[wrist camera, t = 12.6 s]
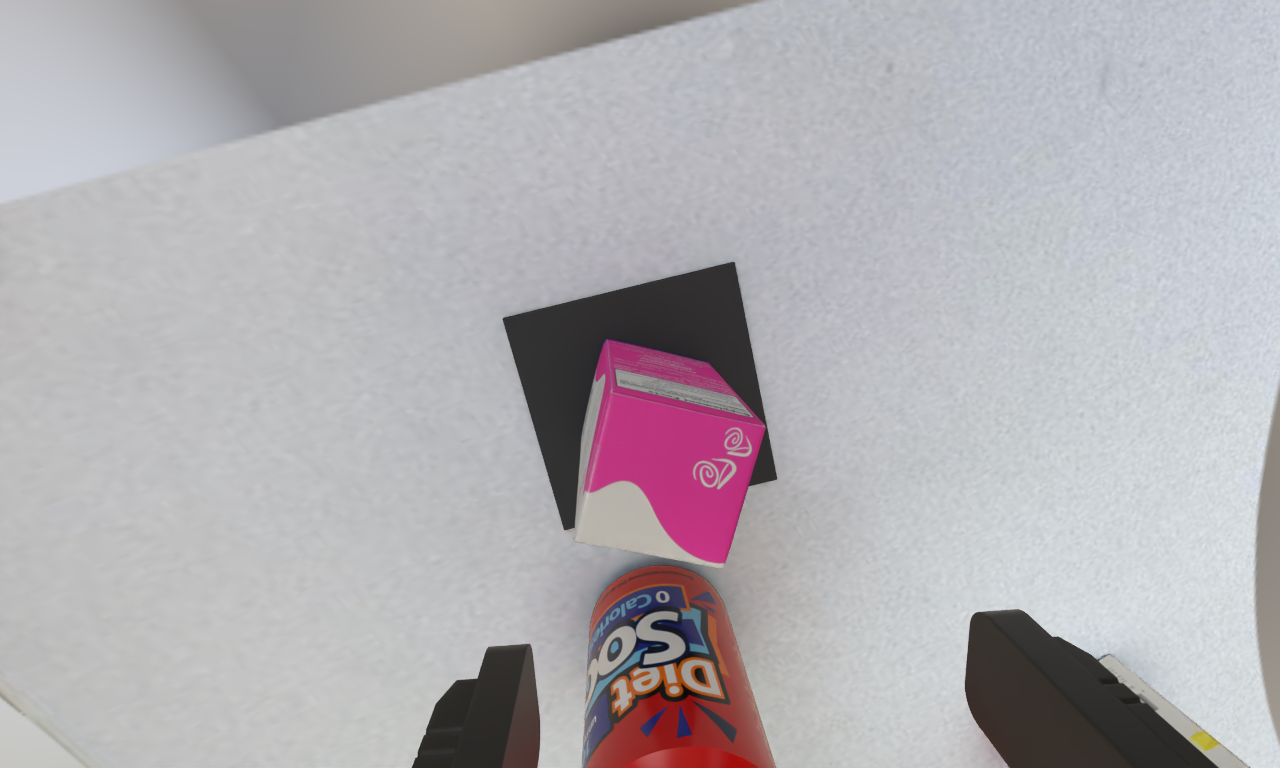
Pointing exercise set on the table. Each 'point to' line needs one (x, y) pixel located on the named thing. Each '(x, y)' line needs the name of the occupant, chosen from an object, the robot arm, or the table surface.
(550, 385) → the felt pad
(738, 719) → the soda can
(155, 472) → the table surface
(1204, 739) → the ink box
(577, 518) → the supplement box
